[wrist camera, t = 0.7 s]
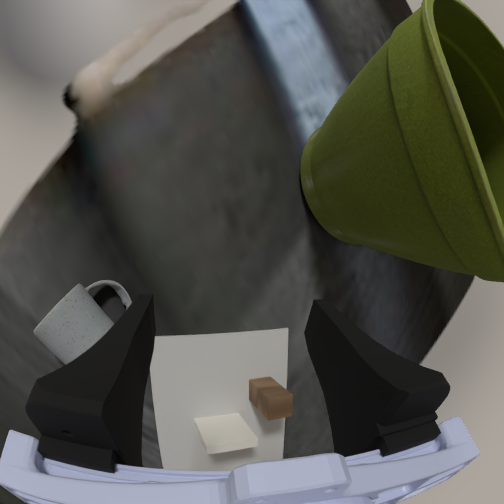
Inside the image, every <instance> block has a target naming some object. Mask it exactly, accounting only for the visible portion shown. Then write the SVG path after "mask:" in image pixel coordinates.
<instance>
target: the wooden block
mask: <svg viewBox="0 0 504 504" xmlns="http://www.w3.org/2000/svg"><path fill="white" fill-rule="evenodd" d="M249 400H250V401H251V402H252V403H253V404H254V406H255V407H256V408H257V409H258V410H259V411H260V412H261V413H262V414H263V416H264V417H265V418H266V419H267V420H268V421H271V420H276V419H281V418H285V417H290V416H292V403H293V394H292V393H290V392H289V391H288V390H286V389H285V388H284V387H283V386H281V385H280V384H279V383H278V382H276V381H275V380H274V379H273V378H271V377H263V378H256V379H249Z"/></svg>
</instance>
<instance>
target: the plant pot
mask: <svg viewBox="0 0 504 504" xmlns="http://www.w3.org/2000/svg"><path fill="white" fill-rule="evenodd" d="M300 175H301V183H302V189H303V192H304V195H305V199H306V201H307V203H308V206H309V208H310V210H311V211H312V213H313V215H314V216H315V218H316V219H317V221H318V222H319V223H320V225H321V226H322V227H323V228H324V229H325V230H326V231H327V232H328V233H329V234H331V235H332V236H333V237H335V238H337V239H338V240H340V241H343V242H345V243H348V244H351V245H365V246H367V247H370V248H373V249H376V250H378V251H381V252H384V253H387V254H390V255H393V256H397V257H400V258H403V259H407V260H410V261H413V262H417V263H421V264H425V265H429V266H433V267H437V268H441V269H445V270H449V271H454V272H459V273H463V274H469V275H475V276H478V277H479V278H481V279H483V280H487V281H496V282H504V47H503V45H502V44H501V43H500V41H499V40H498V39H497V37H496V36H495V35H494V34H493V32H492V31H491V30H490V29H489V27H488V26H487V25H486V24H485V23H484V22H483V21H482V20H481V19H480V18H479V17H478V16H477V15H476V14H475V13H474V12H473V11H472V10H471V9H470V8H469V7H468V6H467V5H465V4H464V3H463V2H461V1H460V0H423V2H422V6H421V7H420V8H419V9H418V10H417V11H415V12H414V13H413V14H412V15H411V16H409V17H408V18H407V19H406V20H404V21H403V22H402V23H401V24H399V25H398V26H397V27H396V28H395V29H394V31H393V33H392V35H391V37H390V38H389V39H388V40H387V41H386V42H385V43H384V45H383V46H382V47H381V48H380V49H379V50H378V51H377V52H376V54H375V55H374V56H373V57H372V58H371V59H370V60H369V62H368V63H367V64H366V65H365V66H364V68H363V69H362V70H361V71H360V72H359V74H358V75H357V76H356V77H355V78H354V80H353V81H352V82H351V84H350V85H349V86H348V88H347V89H346V91H345V92H344V93H343V95H342V96H341V97H340V99H339V100H338V101H337V103H336V104H335V106H334V107H333V109H332V110H331V112H330V113H329V115H328V116H327V118H326V120H325V121H324V123H323V125H322V126H321V127H320V128H319V129H317V130H316V131H315V132H314V133H313V134H312V135H311V136H310V138H309V139H308V141H307V143H306V145H305V147H304V150H303V153H302V158H301V166H300Z"/></svg>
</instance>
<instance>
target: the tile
mask: <svg viewBox="0 0 504 504" xmlns="http://www.w3.org/2000/svg"><path fill="white" fill-rule="evenodd" d="M194 424H195V428H196V430H197V432H198V435H199V437H200V439H201V442H202V444H203V446H204V449H205V451H206V453H207V454H215V453H222V452H228V451H234V450H240V449H246V448H251V447H256V446H258V438H257V437H256V435H255V434H254V433H253V432H252V430H251V429H250V428H249V426H248V425H247V424H246V422H245V421H244V420H243V418H242V417H241V416H240V414H239V413H234V414H227V415H219V416H211V417H202V418H194Z"/></svg>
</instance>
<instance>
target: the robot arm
mask: <svg viewBox="0 0 504 504" xmlns="http://www.w3.org/2000/svg"><path fill="white" fill-rule="evenodd" d="M155 333H156V327H155V317H154V305H153V295H148V294H139V295H137V297H136V298H135V299H134V301H133V302H132V303H131V305H130V306H129V307H128V308H127V310H126V311H125V312H124V313H123V315H122V316H121V317H120V318H119V319H118V321H117V322H116V323H115V324H114V325H113V326H112V327H111V328H110V329H109V330H108V331H107V332H106V334H105V335H104V336H103V337H102V338H100V339H99V340H98V341H97V342H96V343H95V344H94V345H93V346H92V347H90V348H89V349H88V350H87V351H85V352H84V353H83V354H81V355H80V356H79V357H77V358H76V359H74V360H73V361H71V362H70V363H68V364H66V365H65V366H63V367H61V368H59V369H58V370H56V371H54V372H52V373H50V374H47V375H45V376H43V377H41V378H39V379H37V380H36V382H35V384H34V386H33V388H32V391H31V393H30V396H29V399H28V401H27V404H26V407H25V409H26V413H27V415H28V416H29V418H30V420H31V421H32V422H33V424H34V425H35V426H36V428H37V429H38V430H39V432H40V433H41V438H40V441H39V440H37V439H36V438H34V437H31V436H29V435H25V434H22V433H19V432H16V431H13V430H9V433H8V436H7V439H6V442H5V446H4V449H3V452H2V456H1V459H0V485H1V486H3V487H4V488H5V489H7V490H8V491H10V492H11V493H12V494H14V495H15V496H17V497H18V498H20V499H21V500H23V501H24V502H26V503H28V504H396V503H398V502H401V501H403V500H405V499H408V498H410V497H412V496H414V495H416V494H418V493H421V492H423V491H425V490H427V489H429V488H431V487H433V486H435V485H437V484H439V483H441V482H443V481H445V480H447V479H449V478H451V477H452V476H453V475H455V474H456V473H457V472H459V471H460V470H461V469H463V468H464V467H465V466H466V465H468V464H469V463H470V462H471V461H472V460H474V459H475V458H476V457H477V456H478V455H479V454H480V452H479V450H478V449H477V447H476V445H475V443H474V441H473V439H472V438H471V436H470V434H469V432H468V430H467V429H466V427H465V425H464V423H463V422H462V420H461V418H460V416H456V417H453V418H451V419H448V420H446V421H444V422H441V423H440V424H439V425H437V424H436V422H435V420H436V419H437V417H438V416H437V414H436V413H435V411H436V410H437V409H438V407H439V406H440V405H441V404H442V402H443V401H444V400H445V398H446V397H447V396H448V394H449V391H450V385H449V383H448V382H447V381H446V379H445V377H444V376H443V374H442V373H441V372H438V371H435V370H432V369H429V368H426V367H423V366H420V365H418V364H416V363H413V362H411V361H409V360H407V359H405V358H403V357H401V356H399V355H397V354H395V353H393V352H392V351H390V350H388V349H387V348H385V347H384V346H382V345H381V344H379V343H378V342H376V341H375V340H373V339H372V338H371V337H369V336H368V335H367V334H365V333H364V332H363V331H362V330H360V329H359V328H358V327H357V326H356V325H354V324H353V323H352V322H351V321H350V320H349V319H348V318H346V317H345V316H344V315H343V314H342V313H341V312H340V311H339V310H338V309H337V308H335V307H334V306H333V305H332V304H331V303H330V302H328V301H327V300H314V301H313V305H312V308H311V312H310V315H309V318H308V322H307V325H306V329H305V332H304V333H305V338H306V343H307V348H308V352H309V355H310V357H311V360H312V363H313V366H314V368H315V371H316V374H317V376H318V379H319V382H320V384H321V387H322V390H323V393H324V397H325V401H326V405H327V409H328V414H329V419H330V424H331V430H332V437H333V443H334V452H335V453H326V454H319V455H312V456H306V457H298V458H290V459H281V460H270V461H259V462H253V463H247V464H244V465H241V466H238V467H236V468H235V469H234V470H232V471H185V470H167V469H154V468H144V467H142V456H141V448H142V417H143V403H144V394H145V388H146V383H147V378H148V374H149V369H150V364H151V360H152V355H153V351H154V342H155Z"/></svg>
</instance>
